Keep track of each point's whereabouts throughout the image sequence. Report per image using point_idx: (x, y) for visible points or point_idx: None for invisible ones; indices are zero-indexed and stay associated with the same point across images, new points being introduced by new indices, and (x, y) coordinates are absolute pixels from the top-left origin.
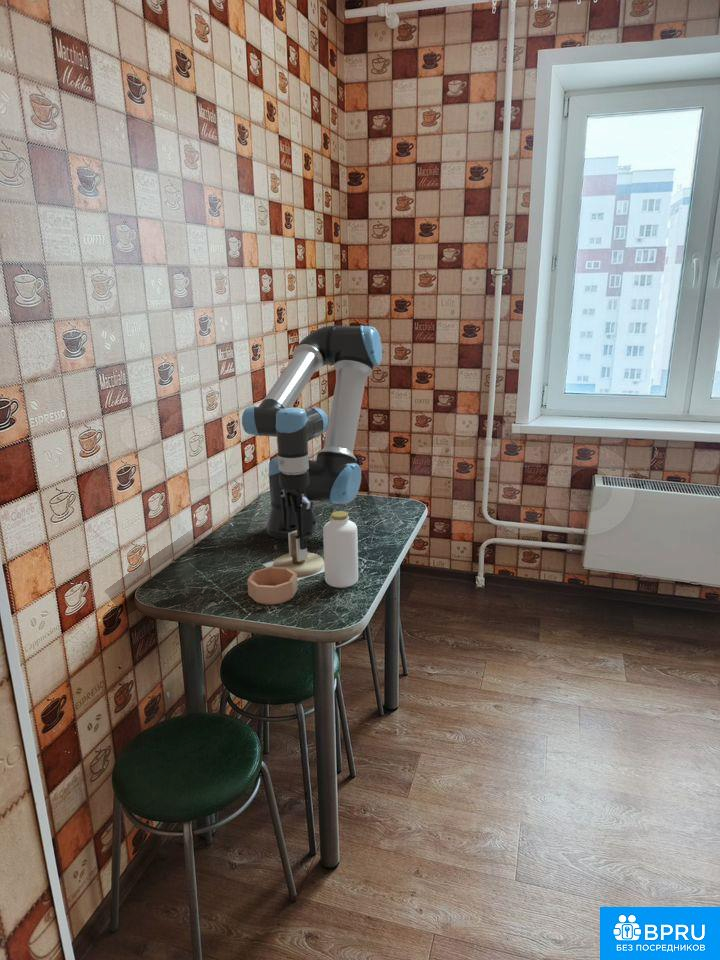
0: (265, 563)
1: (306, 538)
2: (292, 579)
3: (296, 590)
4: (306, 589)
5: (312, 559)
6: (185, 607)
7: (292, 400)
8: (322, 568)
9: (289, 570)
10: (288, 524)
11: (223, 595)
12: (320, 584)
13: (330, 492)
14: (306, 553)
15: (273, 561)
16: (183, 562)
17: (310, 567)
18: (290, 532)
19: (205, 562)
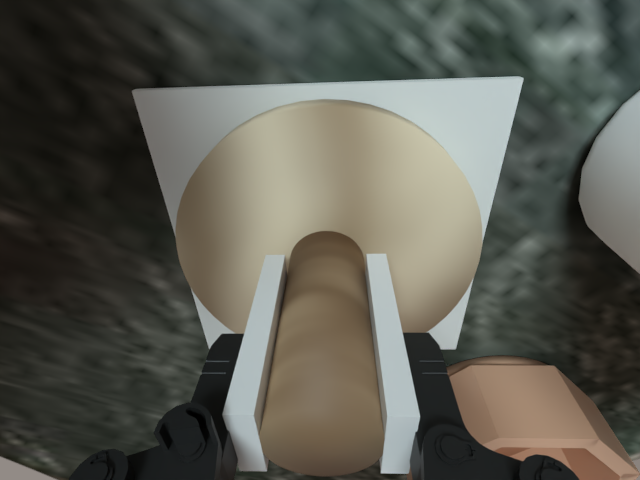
0: (206, 337)
1: (463, 422)
2: (623, 466)
3: (565, 377)
4: (553, 317)
5: (348, 183)
6: None
7: None
8: (454, 160)
9: (534, 443)
10: None
11: (362, 472)
12: (578, 253)
13: None
14: (389, 283)
15: (201, 308)
16: (69, 469)
17: (443, 249)
18: (246, 460)
19: (91, 440)
